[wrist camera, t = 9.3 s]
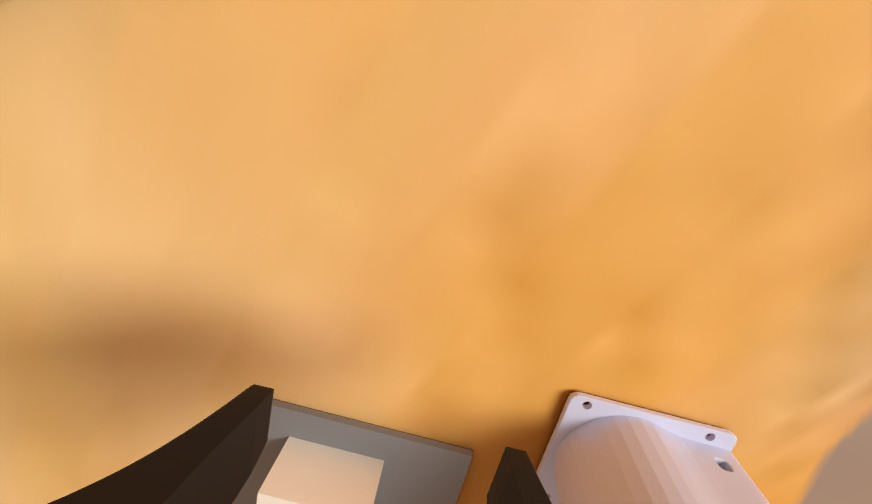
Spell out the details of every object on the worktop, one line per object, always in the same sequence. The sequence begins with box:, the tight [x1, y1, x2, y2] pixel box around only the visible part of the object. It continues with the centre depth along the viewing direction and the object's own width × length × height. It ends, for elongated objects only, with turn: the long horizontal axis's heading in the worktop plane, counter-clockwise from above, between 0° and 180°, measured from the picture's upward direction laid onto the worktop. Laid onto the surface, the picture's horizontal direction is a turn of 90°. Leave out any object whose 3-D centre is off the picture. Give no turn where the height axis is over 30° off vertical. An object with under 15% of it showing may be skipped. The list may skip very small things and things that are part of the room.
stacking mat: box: [234, 399, 473, 504], centre depth 27 cm, size 14×10×1 cm
